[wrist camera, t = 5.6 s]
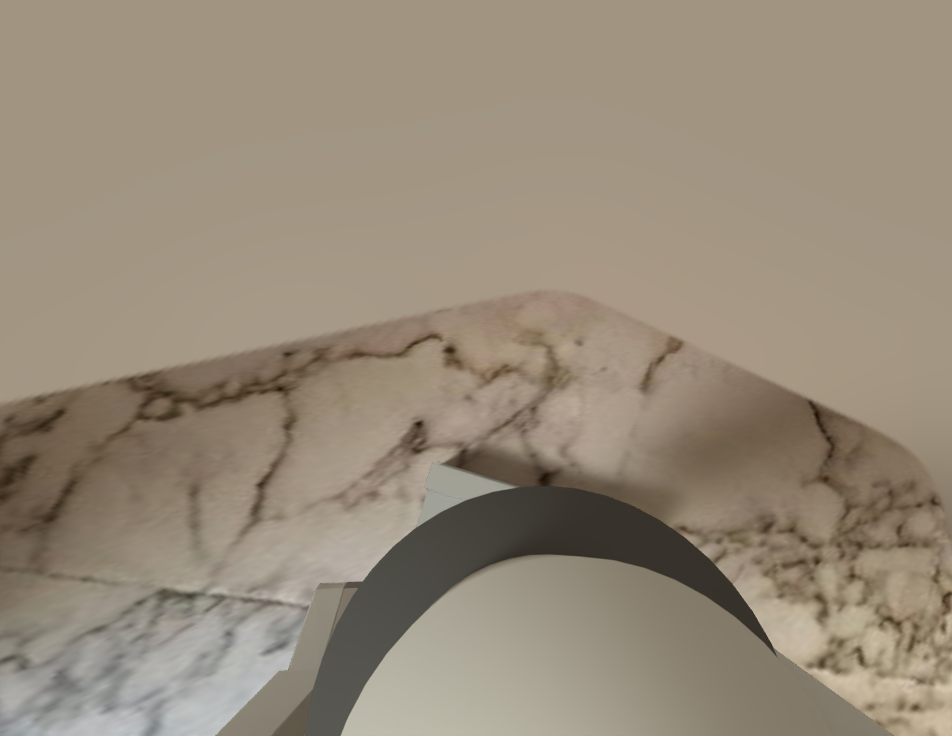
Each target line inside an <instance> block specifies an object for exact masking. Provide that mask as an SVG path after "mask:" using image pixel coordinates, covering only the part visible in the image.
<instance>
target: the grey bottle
mask: <svg viewBox="0 0 952 736" xmlns="http://www.w3.org/2000/svg"><path fill="white" fill-rule="evenodd" d="M305 736H833V735H832V733H831V732H830V730H829V728H828V727H827V725H826V723H825V722H824V720H823V718H822V716H821V715H820V713H819V711H818V710H817V708H816V706H815V705H814V703H813V702H812V701H811V699H810V698H809V697H808V695H807V694H806V693H805V691H804V690H803V688H802V687H801V686H800V684H799V683H798V682H797V680H796V679H795V678H794V676H793V675H792V673H791V672H790V671H789V670H788V669H787V668H786V666H785V665H784V664H783V663H782V662H781V661H780V660H779V659H778V657H777V655H776V653H775V650H774V648H773V646H772V644H771V642H770V640H769V639H768V637H767V635H766V633H765V632H764V630H763V628H762V627H761V625H760V623H759V622H758V620H757V618H756V616H755V615H754V613H753V611H752V610H751V609H750V607H749V606H748V605H747V603H746V602H745V601H744V599H743V598H742V596H741V595H740V594H739V592H738V591H737V590H736V588H735V587H734V586H733V584H732V583H731V582H730V581H729V580H728V579H727V578H726V576H725V575H724V574H723V573H722V572H721V571H720V570H719V569H718V568H717V567H716V566H715V565H714V563H713V562H712V561H711V560H710V559H709V558H708V557H707V556H705V555H704V554H703V553H702V552H701V551H700V550H699V549H697V548H696V547H695V546H694V545H693V544H692V543H690V542H689V541H688V540H687V539H686V538H685V537H683V536H682V535H680V534H679V533H677V532H676V531H675V530H673V529H672V528H670V527H669V526H667V525H666V524H664V523H663V522H661V521H660V520H658V519H656V518H654V517H653V516H651V515H649V514H647V513H645V512H643V511H641V510H639V509H637V508H635V507H633V506H631V505H629V504H626V503H623V502H621V501H618V500H615V499H613V498H610V497H607V496H605V495H600V494H596V493H592V492H588V491H583V490H579V489H572V488H562V487H552V486H537V487H518V488H512V489H506V490H500V491H494V492H491V493H487V494H484V495H481V496H478V497H475V498H471V499H468V500H465V501H463V502H461V503H459V504H457V505H455V506H453V507H450V508H448V509H446V510H444V511H442V512H440V513H438V514H437V515H435V516H434V517H432V518H431V519H429V520H427V521H426V522H424V523H423V524H421V525H420V526H418V527H416V528H415V529H414V530H413V531H412V532H410V533H409V534H408V535H407V536H406V537H404V538H403V539H402V540H401V541H400V542H398V543H397V544H396V545H395V546H394V547H393V548H392V549H391V550H390V551H389V552H388V553H387V554H386V555H385V556H384V557H383V558H382V559H381V560H380V561H379V562H378V564H377V565H376V566H375V567H374V568H373V569H372V570H371V571H370V573H369V574H368V576H367V577H366V578H365V580H364V581H363V582H362V584H361V585H360V586H359V588H358V589H357V591H356V592H355V593H354V595H353V596H352V598H351V600H350V602H349V603H348V605H347V607H346V609H345V610H344V612H343V614H342V616H341V617H340V619H339V621H338V623H337V624H336V627H335V629H334V631H333V634H332V636H331V638H330V641H329V643H328V646H327V648H326V650H325V653H324V655H323V657H322V661H321V664H320V667H319V671H318V674H317V677H316V681H315V684H314V687H313V691H312V695H311V701H310V706H309V712H308V717H307V722H306V728H305Z"/></svg>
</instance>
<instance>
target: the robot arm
mask: <svg viewBox="0 0 952 736" xmlns="http://www.w3.org/2000/svg"><path fill="white" fill-rule="evenodd" d="M361 584H362V582H344V583H320V584H319V586H318V587H317V588H316V590H315V591H314V594H313V597H312V600H311V603H310V606H309V609H308V612H307V615H306V618H305V621H304V624H303V627H302V630H301V633H300V636H299V639H298V641H297V644H296V647H295V650H294V653H293V656H292V659H291V662H290V665H289V668H288V670H286V671H279V672H278V673H277V674H276V675H275V676H274V677H273V678H272V679H271V680H270V681H269V682H268V683H267V684H266V685H265V686H264V687H263V688H262V689H261V690H260V691H259V692H258V693H257V694H256V695H255V696H254V697H253V698H252V699H251V700H250V701H249V702H248V703H247V704H246V705H245V706H244V707H243V708H242V709H241V710H240V711H239V712H238V713H237V714H236V715H235V716H234V717H233V718H232V719H231V720H230V721H229V722H228V723H227V724H226V725H225V726H224V727H223V728H222V729H221V730H220V732H219V733H218V734H217V735H216V736H305V728H306V722H307V717H308V712H309V706H310V701H311V695H312V691H313V687H314V684H315V681H316V677H317V674H318V671H319V667H320V664H321V661H322V657H323V655H324V653H325V650H326V648H327V646H328V643H329V641H330V638H331V636H332V634H333V631H334V629H335V627H336V624H337V623H338V621H339V619H340V617H341V616H342V614H343V612H344V610H345V609H346V607H347V605H348V603H349V602H350V600H351V598H352V596H353V595H354V593H355V592H356V591H357V589H358V588H359V586H360V585H361ZM774 650H775V649H774ZM775 653H776V655H777V657H778V659H779V660H780V661H781V662H782V663H783V664H784V665H785V666H786V668H787V669H788V670H789V671H790V672H791V673H792V675H793V676H794V678H795V679H796V680H797V682H798V683H799V684H800V686H801V687H802V688H803V690H804V691H805V693H806V694H807V695H808V697H809V698H810V699H811V701H812V702H813V703H814V705H815V706H816V708H817V710H818V711H819V713H820V715H821V716H822V718H823V720H824V722H825V723H826V725H827V727H828V728H829V730H830V732H831V733H832V735H833V736H894V735H893V734H891V733H890V732H889V731H887V730H886V729H884V728H883V727H882V726H880V725H879V724H878V723H876V722H875V721H873V720H872V719H871V718H869V717H868V716H866V715H865V714H864V713H862V712H861V711H860V710H858V709H857V708H855V707H854V706H853V705H851V704H850V703H849V702H847V701H846V700H844V699H843V698H842V697H840V696H839V695H837V694H836V693H835V692H833V691H832V690H831V689H829V688H828V687H826V686H825V685H824V684H822V683H821V682H820V681H818V680H817V679H815V678H814V677H813V676H811V675H810V674H809V673H807V672H806V671H804V670H803V669H802V668H800V667H799V666H797V665H796V664H795V663H793V662H792V661H791V660H789V659H788V658H786V657H785V656H784V655H782V654H781V653H780V652H778V651H777V650H775Z"/></svg>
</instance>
